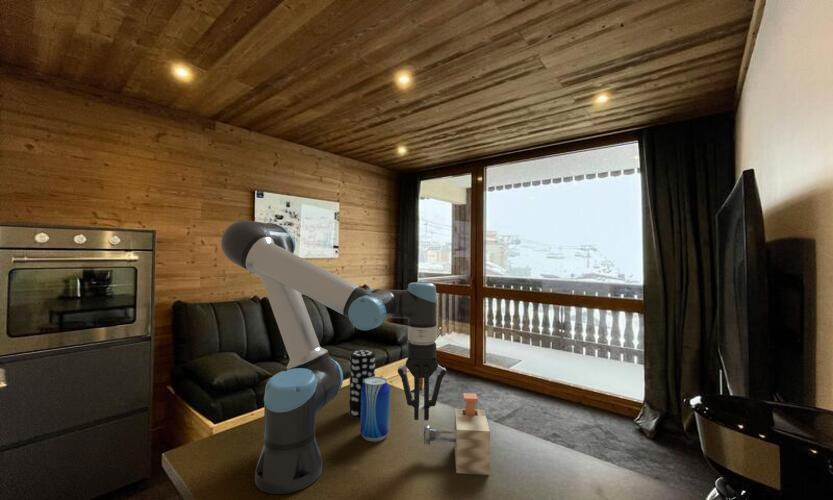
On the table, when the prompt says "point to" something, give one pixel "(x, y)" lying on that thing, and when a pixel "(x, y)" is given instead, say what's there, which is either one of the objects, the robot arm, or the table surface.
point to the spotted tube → (359, 378)
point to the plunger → (470, 403)
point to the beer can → (375, 409)
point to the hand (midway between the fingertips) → (421, 431)
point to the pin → (438, 434)
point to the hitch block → (472, 443)
